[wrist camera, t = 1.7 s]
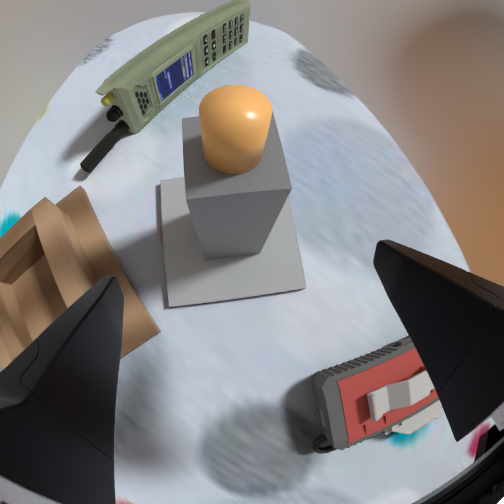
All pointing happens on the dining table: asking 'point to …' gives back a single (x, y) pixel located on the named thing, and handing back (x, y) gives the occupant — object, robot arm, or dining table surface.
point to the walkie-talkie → (374, 396)
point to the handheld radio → (168, 70)
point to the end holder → (59, 274)
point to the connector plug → (234, 171)
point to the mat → (224, 269)
